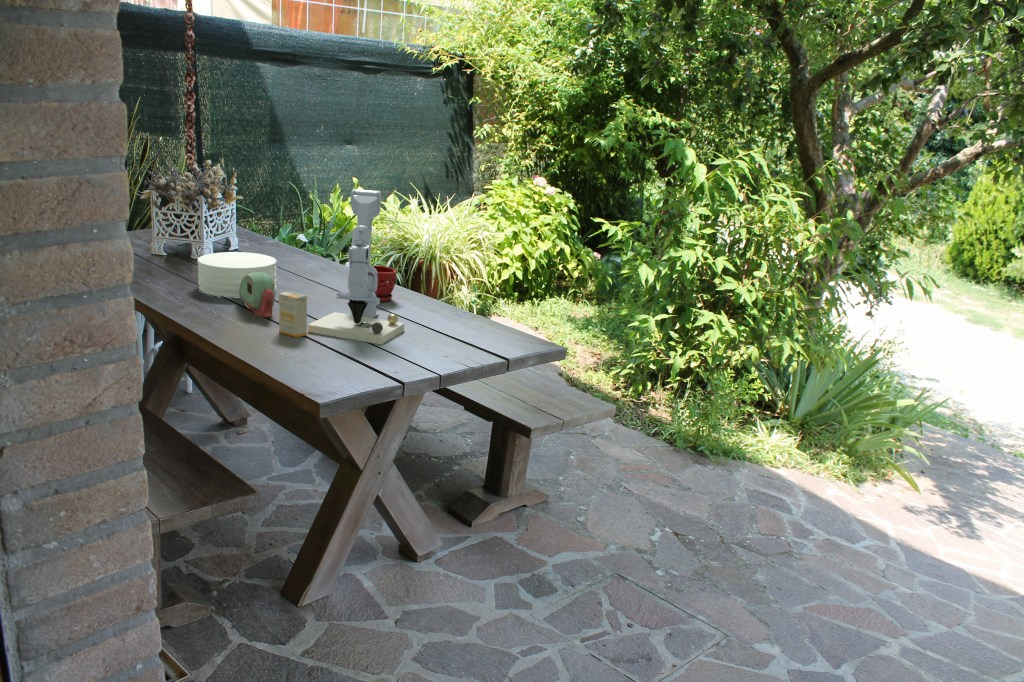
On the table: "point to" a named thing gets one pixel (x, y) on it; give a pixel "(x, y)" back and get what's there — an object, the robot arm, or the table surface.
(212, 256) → the plate stack
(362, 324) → the steel ball
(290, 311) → the supplement box
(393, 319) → the brass ball
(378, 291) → the plant pot
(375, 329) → the black rubber ball
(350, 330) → the hole plate
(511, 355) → the table surface
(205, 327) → the table surface
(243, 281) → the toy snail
